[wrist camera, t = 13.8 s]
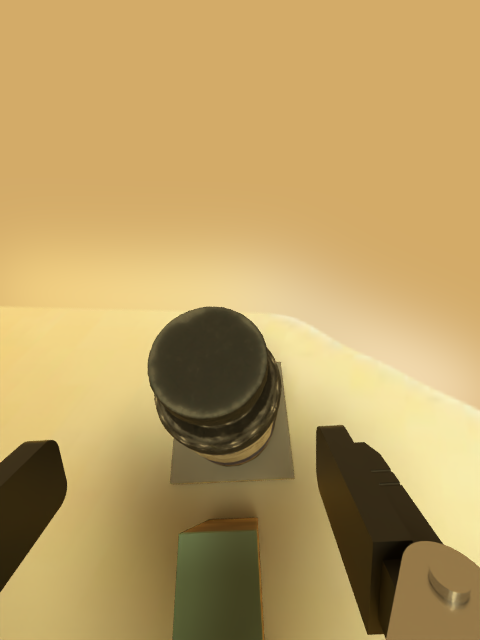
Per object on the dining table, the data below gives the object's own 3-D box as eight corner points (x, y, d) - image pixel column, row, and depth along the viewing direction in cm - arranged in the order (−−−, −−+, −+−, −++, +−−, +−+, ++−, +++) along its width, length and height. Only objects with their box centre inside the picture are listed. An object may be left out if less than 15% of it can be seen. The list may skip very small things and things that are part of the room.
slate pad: (172, 484, 19) (170, 484, 18) (181, 370, 23) (179, 367, 23) (293, 478, 19) (294, 478, 18) (280, 365, 23) (280, 361, 22)
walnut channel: (-143, 699, 15) (-490, 876, 8) (-70, 530, 18) (-264, 551, 12) (267, 690, 14) (275, 872, 7) (257, 517, 18) (256, 530, 11)
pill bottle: (205, 370, 22) (166, 279, 13) (282, 389, 21) (300, 305, 12) (175, 453, 19) (96, 413, 10) (263, 480, 18) (268, 464, 9)
